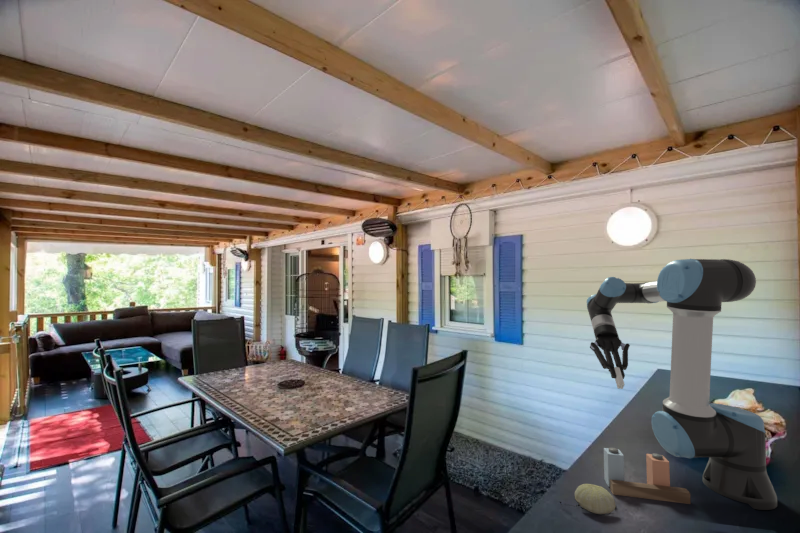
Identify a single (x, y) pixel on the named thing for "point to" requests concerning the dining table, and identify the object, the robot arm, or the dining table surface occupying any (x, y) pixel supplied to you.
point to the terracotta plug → (657, 470)
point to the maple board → (650, 491)
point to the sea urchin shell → (595, 499)
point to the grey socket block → (613, 465)
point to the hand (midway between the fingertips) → (621, 386)
